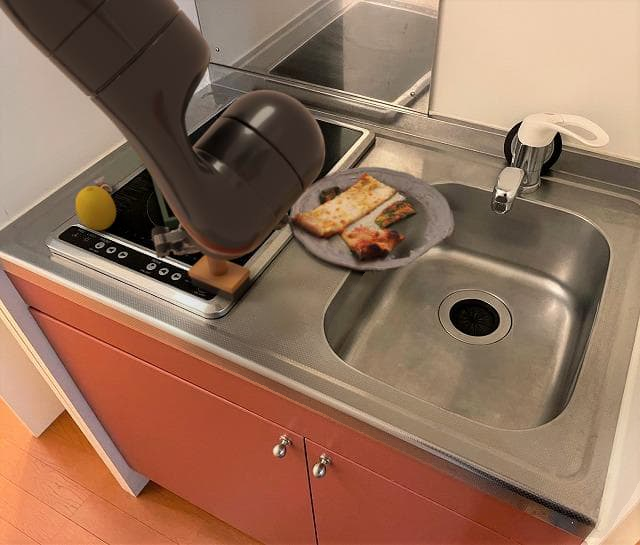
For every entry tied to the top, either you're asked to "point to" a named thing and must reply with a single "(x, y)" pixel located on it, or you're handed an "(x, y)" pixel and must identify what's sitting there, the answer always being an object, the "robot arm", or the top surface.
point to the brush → (220, 277)
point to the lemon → (95, 208)
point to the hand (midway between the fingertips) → (217, 237)
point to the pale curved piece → (104, 185)
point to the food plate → (354, 203)
